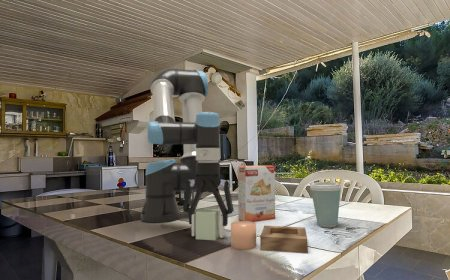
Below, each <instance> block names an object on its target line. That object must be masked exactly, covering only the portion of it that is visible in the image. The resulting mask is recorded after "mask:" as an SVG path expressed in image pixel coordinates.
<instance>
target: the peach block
mask: <svg viewBox="0 0 450 280" xmlns="http://www.w3.org/2000/svg"><path fill="white" fill-rule="evenodd" d="M230 247H231V248H234V249H236V250H252V249H254V248H256V247H257V223H256V222H255V221H242V220H237V221H236V220H235V221H232V222H231V223H230Z"/></svg>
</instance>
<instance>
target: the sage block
mask: <svg viewBox="0 0 450 280" xmlns="http://www.w3.org/2000/svg"><path fill="white" fill-rule="evenodd" d="M195 213H196V235H195V240H205V241H216V240H217V239H218V238H220V215H221V210H220V208H200V209H199V210H197V211H195Z"/></svg>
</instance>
